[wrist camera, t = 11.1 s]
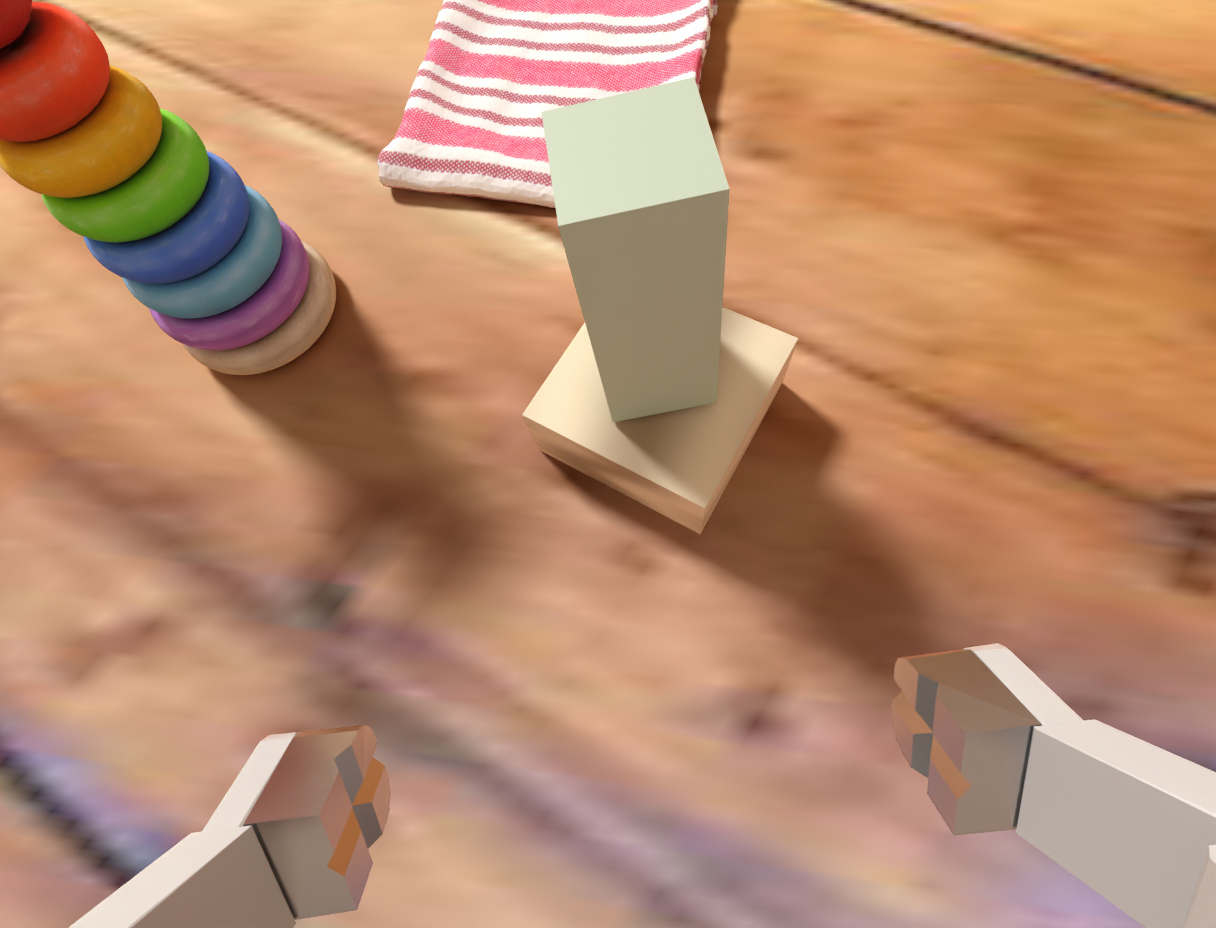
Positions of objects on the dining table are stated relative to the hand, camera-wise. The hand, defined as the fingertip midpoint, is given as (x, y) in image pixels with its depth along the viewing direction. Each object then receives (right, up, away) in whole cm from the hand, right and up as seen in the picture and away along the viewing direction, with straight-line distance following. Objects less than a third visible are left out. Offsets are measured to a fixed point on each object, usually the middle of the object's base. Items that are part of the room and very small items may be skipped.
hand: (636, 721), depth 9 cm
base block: (+2, +6, +18) cm, 19 cm away
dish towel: (-3, +28, +28) cm, 39 cm away
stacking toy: (-18, +12, +22) cm, 31 cm away
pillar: (+1, +8, +14) cm, 16 cm away
